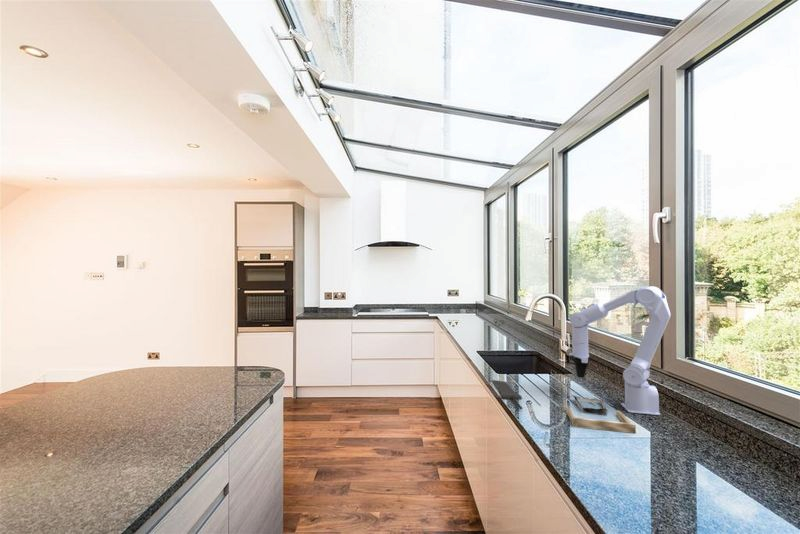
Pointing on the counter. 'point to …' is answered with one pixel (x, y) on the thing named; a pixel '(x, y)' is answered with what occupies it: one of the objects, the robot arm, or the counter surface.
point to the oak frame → (603, 423)
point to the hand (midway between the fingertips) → (580, 377)
